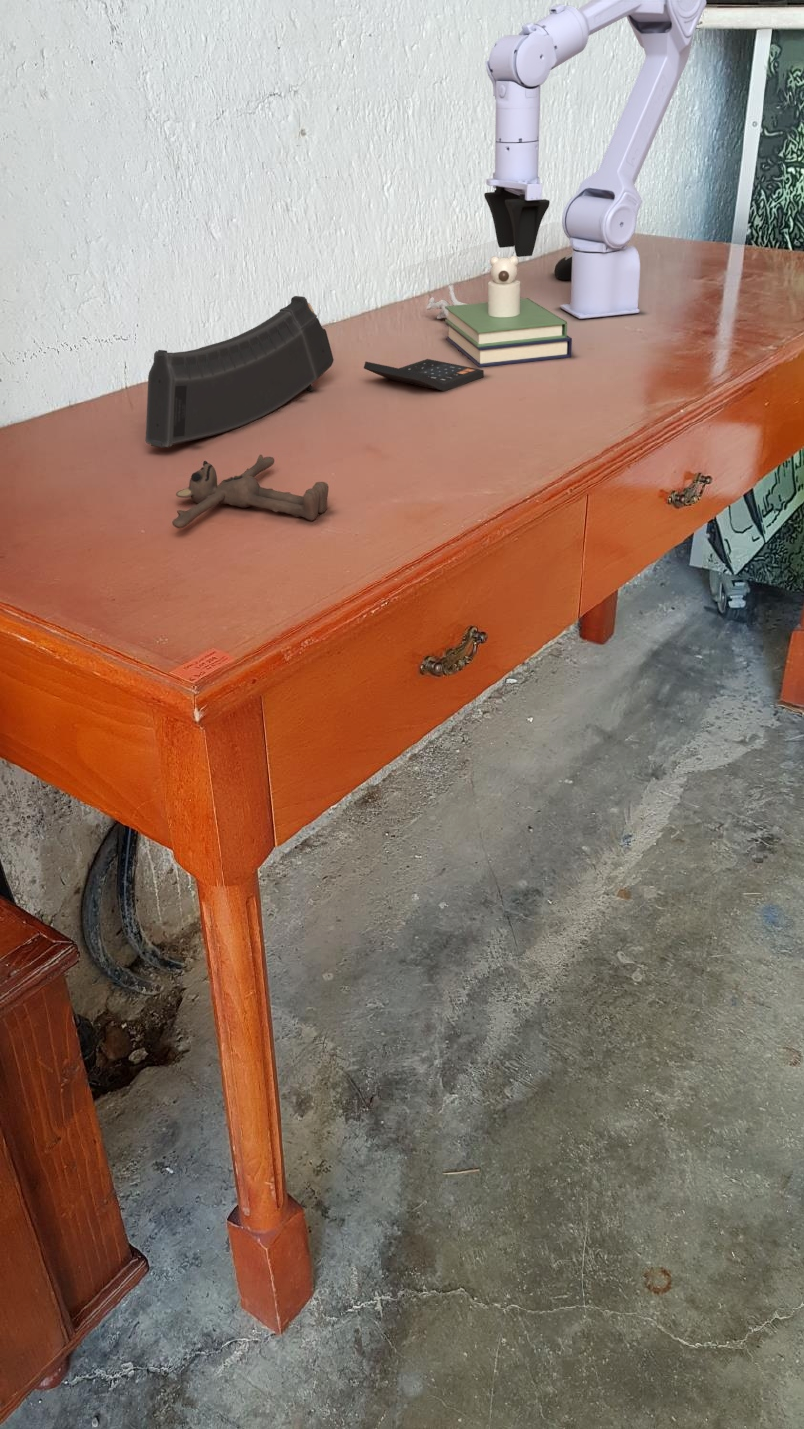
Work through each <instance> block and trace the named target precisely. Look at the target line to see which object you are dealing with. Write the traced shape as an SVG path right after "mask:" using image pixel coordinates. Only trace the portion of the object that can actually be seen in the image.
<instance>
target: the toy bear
mask: <svg viewBox="0 0 804 1429" xmlns="http://www.w3.org/2000/svg"><path fill="white" fill-rule="evenodd" d="M489 264H490V266H491V269H490V274H491V275H490V276H491V277H492V280H490V281H488V282H487V302H488V315H489V316H492V317H499V318H506V317H514V316H517V315H519V314H520V299H521V281H520V280H517V279H516V277H517V275H518V264H519V257H517V256H516V255H511V256H509V257H508V256H502V257H499V256H496V255H495V256H492V257H491V258H490V259H489Z"/></svg>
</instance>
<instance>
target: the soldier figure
mask: <svg viewBox="0 0 804 1429" xmlns="http://www.w3.org/2000/svg"><path fill="white" fill-rule="evenodd" d="M448 284H449V283H448ZM447 287H448V290H449V293H448V294H449V298H450V302H451V303H452V306H454V305H464V304H467V303H465V302H462V301H460V300H458V299H457V297H456V295H455V292H454V290H455V288H454V284H452V283H450V284H449V285H447ZM435 301H436V298H435V297H434V296H431V297H430V298H429V301H428V304H427V305H426V307H425V309H426V311H429V310H431V309H433V310H434V309H435V310H438V309H439V310H440V313H438V314H437V315H436V319H437V320H441V319H448V310H447V309H445V306H451V304H450V303H449V302H448V301H447V300H445V299H441V300H439V301H436V302H435Z"/></svg>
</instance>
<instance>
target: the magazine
mask: <svg viewBox="0 0 804 1429" xmlns="http://www.w3.org/2000/svg"><path fill="white" fill-rule="evenodd" d="M307 299H308V298H306V297H305V296H301V295H294V296H292V297H291V299H290V303H289V304H287V305H286V306H285V307H283V308H281V309H279V311H278V312H277V313H275V314H274V315H272V316H271V317H269V318H268V319H266V320H265V321H263V322H261V323H260V324H258V325H257V326H255V327H252V328H251V329H249V330H246V331H245V332H242V333H241V334H238V335H236V336H233V337H231V338H229V339H225V340H223V341H219V342H215V343H211V344H209V345H205V346H202V347H199V348H196V349H191V350H185V351H177V352H168V350H164V349H158V350H156V351H155V352H154V353H153V363H152V366H151V367H150V370H149V371H148V376H147V398H146V399H147V400H146V423H145V424H146V425H145V442H146V444H148V445H150V446H152V447H156V448H161V449H162V448H171V447H172V446H174V445H178V444H183V443H186V442H187V443H188V442H191V441H195V440H200V439H204V438H208V437H212V436H217V435H219V434H222V433H226V432H229V431H232V430H236V429H238V428H241V427H243V426H245V425H248V424H251V423H253V422H255V421H257V420H259V419H261V418H263V417H265V416H267V415H269V414H271V413H273V412H274V411H277V410H278V409H279V408H280V407H282V406H284V405H286V404H287V403H288V402H290V401H291V400H292V399H293V398H295V397H296V396H298V395H299V394H300V393H302V392H303V391H308V392H309V391H310V392H313V391H314V388H313V383H314V382H316V381H317V380H318V379H319V378H320V377H321V376H323V374H325V373H326V372H327V371H328V370H329V369H330V368H331V367H332V365H333V363H334V355H333V352H332V348H331V344H330V340H329V336H328V333H327V330H326V329H325V328H324V327H323V326H322V324H321V322H320V319H319V318H318V315H317V314H316V313H315V310H314V309H313V306H312V305H311V303H310V302H308V300H307Z"/></svg>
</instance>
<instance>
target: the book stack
mask: <svg viewBox="0 0 804 1429" xmlns="http://www.w3.org/2000/svg"><path fill="white" fill-rule="evenodd" d="M445 309H447V310H448V319H447V318H444V319H445V320H444V321H445V324H446V325H447V326H448V336H446V341H448V342H449V343H450V344H451V345H453V347H455V348H456V349H457V350H458V351H460V352H461V353H462V354H463V355H464V356H465V357H467V358H468V360H470V361H471V362H473V363H474V364H475V365H476V366H477V367H478V368H484V367H494V366H495V367H496V366H502V365H511V364H522V363H531V362H539V361H540V362H541V361H550V360H558V359H566V358H567V359H568V358H572V346H573V338H572V337H571V336H569V335H568V321H567V320H565V319H563V318H561V317H560V316H558V315H556V314H555V313H553V312H551V311H550V310H549V309H547V308H545V307H544V306H541V305H540V304H538V303H537V302H535V301H534V300H532V299H530V298H528V297H527V298H520V314H519V315H517V316H514V317H506V318H499V317H492V316H489V315H488V301H486V302H485V301H484V302H475V303H466V304H464V305H454V306H453V305H450V306H445Z"/></svg>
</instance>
